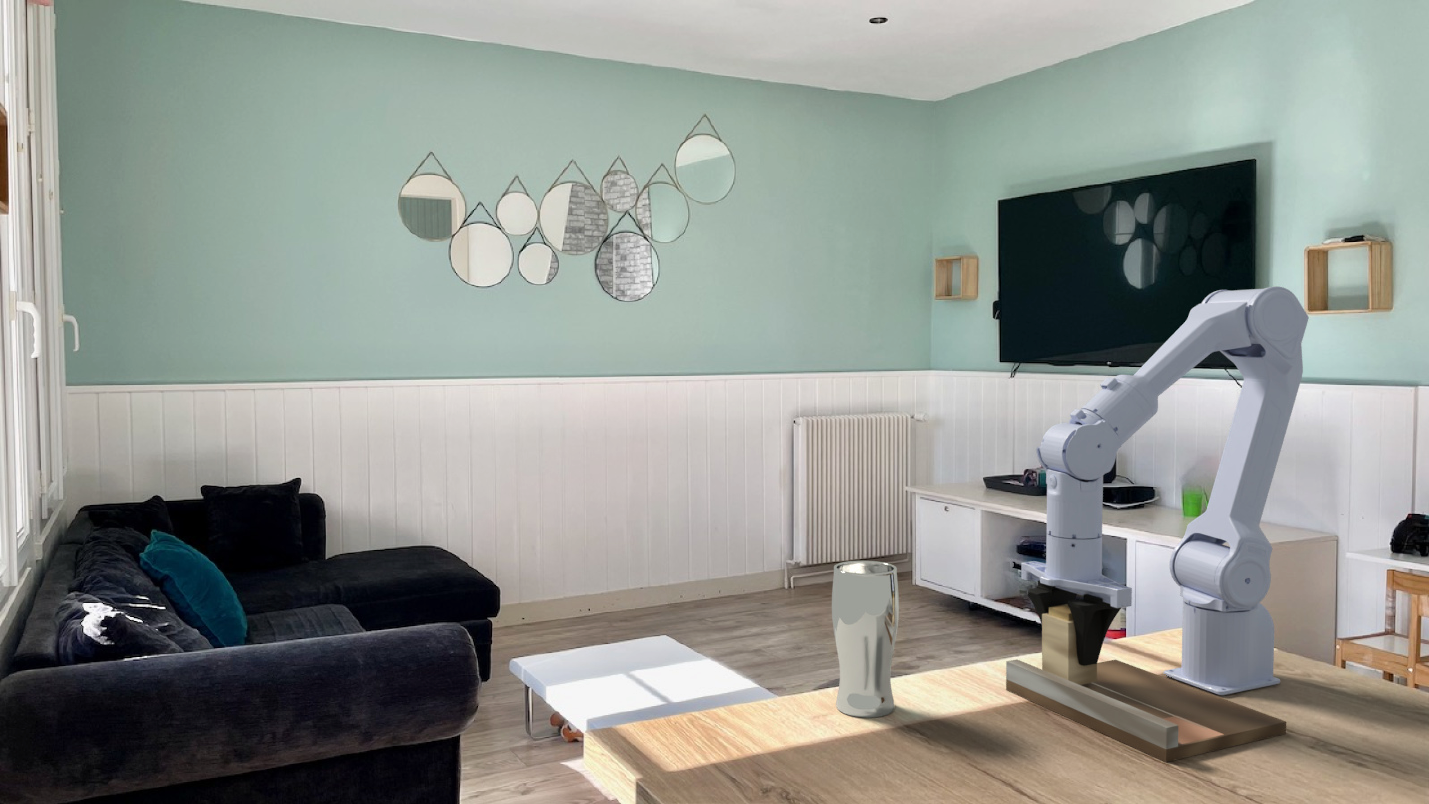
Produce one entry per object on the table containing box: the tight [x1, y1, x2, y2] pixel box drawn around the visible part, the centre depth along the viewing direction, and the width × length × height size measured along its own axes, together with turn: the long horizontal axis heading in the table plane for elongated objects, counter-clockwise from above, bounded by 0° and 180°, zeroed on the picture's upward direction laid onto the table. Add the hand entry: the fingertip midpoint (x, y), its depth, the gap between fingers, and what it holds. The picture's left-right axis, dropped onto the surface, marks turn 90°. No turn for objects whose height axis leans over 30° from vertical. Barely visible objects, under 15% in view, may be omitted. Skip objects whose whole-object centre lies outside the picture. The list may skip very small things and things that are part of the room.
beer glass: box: [831, 560, 900, 719], centre depth 111 cm, size 7×7×15 cm
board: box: [1005, 659, 1287, 763], centre depth 110 cm, size 16×22×3 cm
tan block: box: [1041, 604, 1097, 685], centre depth 115 cm, size 4×4×8 cm
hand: (1072, 658), depth 115 cm, fingers closed on tan block, 4 cm apart
